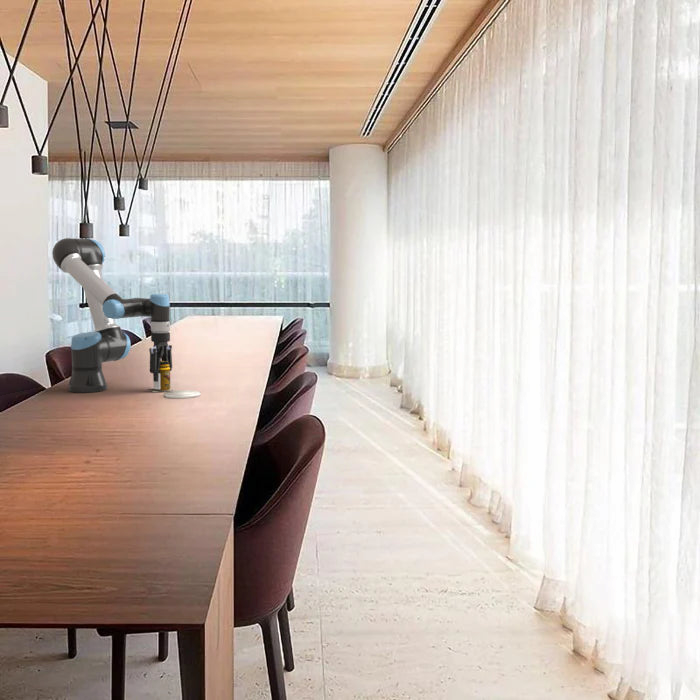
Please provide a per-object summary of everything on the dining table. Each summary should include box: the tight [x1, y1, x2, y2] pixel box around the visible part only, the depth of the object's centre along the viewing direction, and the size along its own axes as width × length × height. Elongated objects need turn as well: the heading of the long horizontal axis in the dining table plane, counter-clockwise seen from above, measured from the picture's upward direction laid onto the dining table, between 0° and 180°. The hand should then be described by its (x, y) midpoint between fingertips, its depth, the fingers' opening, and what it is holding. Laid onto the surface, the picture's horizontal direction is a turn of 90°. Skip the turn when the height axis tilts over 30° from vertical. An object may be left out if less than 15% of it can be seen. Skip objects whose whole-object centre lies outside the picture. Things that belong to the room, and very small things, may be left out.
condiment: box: [147, 360, 174, 393], centre depth 321 cm, size 7×8×12 cm
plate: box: [163, 389, 201, 400], centre depth 310 cm, size 14×14×1 cm
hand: (161, 387), depth 322 cm, fingers closed on condiment, 6 cm apart
